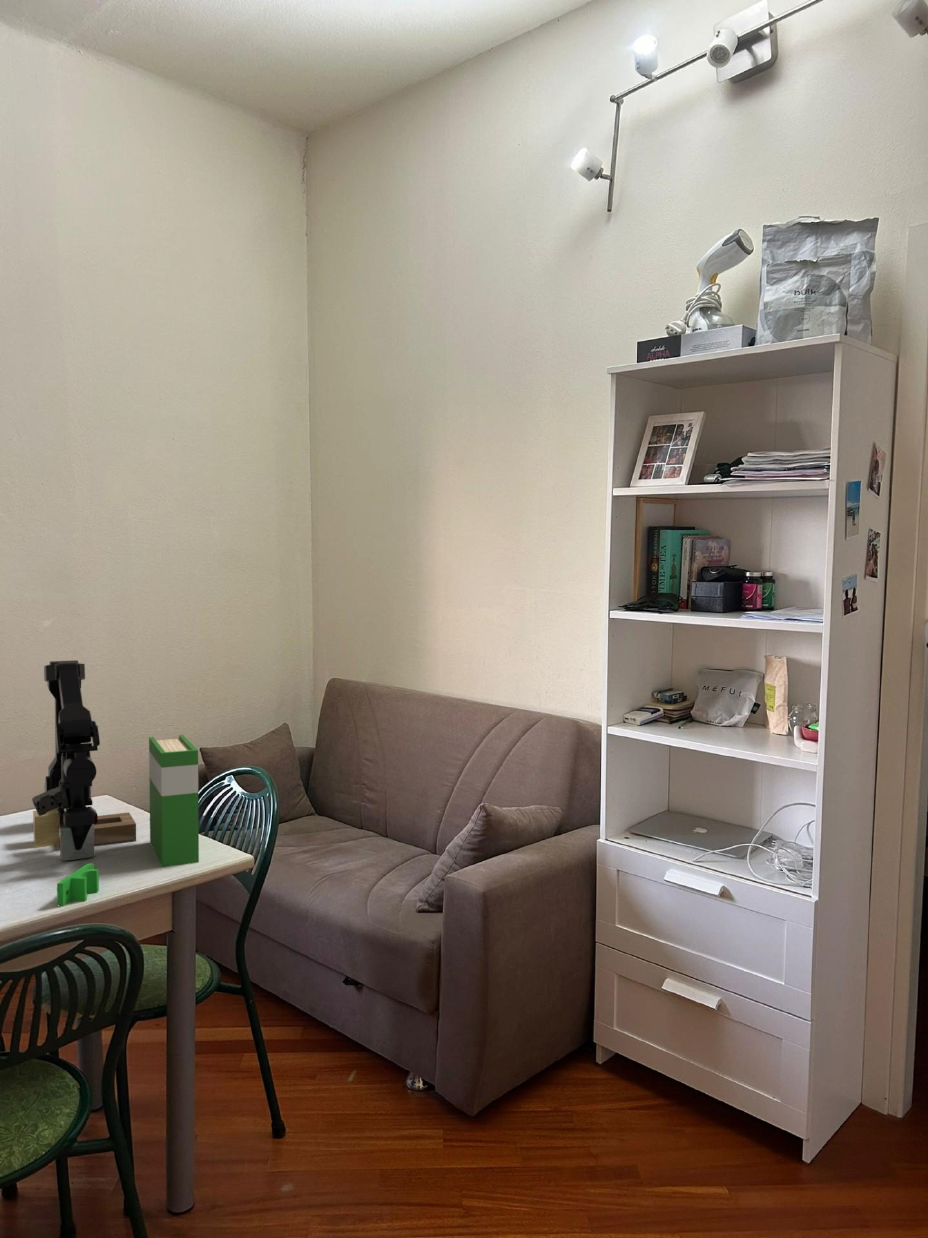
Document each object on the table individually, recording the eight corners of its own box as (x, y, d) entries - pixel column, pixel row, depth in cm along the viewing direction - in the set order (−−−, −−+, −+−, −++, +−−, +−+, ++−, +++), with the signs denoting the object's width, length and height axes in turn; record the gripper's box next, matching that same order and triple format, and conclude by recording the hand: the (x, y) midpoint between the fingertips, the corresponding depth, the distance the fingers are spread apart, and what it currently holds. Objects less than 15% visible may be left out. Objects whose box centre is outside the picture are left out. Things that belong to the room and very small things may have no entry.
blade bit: (60, 857, 198) (59, 825, 197) (93, 853, 201) (92, 821, 200) (61, 861, 196) (60, 828, 195) (94, 856, 199) (94, 824, 198)
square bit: (33, 841, 209) (33, 811, 209) (57, 838, 212) (57, 808, 211) (35, 848, 205) (34, 817, 204) (59, 845, 207) (59, 814, 207)
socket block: (64, 837, 213) (64, 819, 213) (129, 829, 219) (129, 812, 219) (69, 849, 204) (68, 831, 204) (136, 841, 211) (136, 823, 210)
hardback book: (150, 842, 210) (149, 737, 208) (184, 838, 213) (183, 734, 211) (162, 867, 194) (161, 753, 192) (198, 862, 197) (198, 750, 195)
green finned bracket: (76, 908, 172) (76, 884, 171) (57, 907, 172) (56, 883, 172) (106, 886, 183) (106, 863, 183) (88, 885, 183) (88, 862, 183)
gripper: (31, 769, 201) (32, 840, 203) (37, 790, 185) (39, 867, 186) (86, 764, 207) (87, 833, 208) (97, 784, 190) (98, 858, 191)
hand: (77, 847), depth 198 cm, fingers closed on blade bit, 2 cm apart
